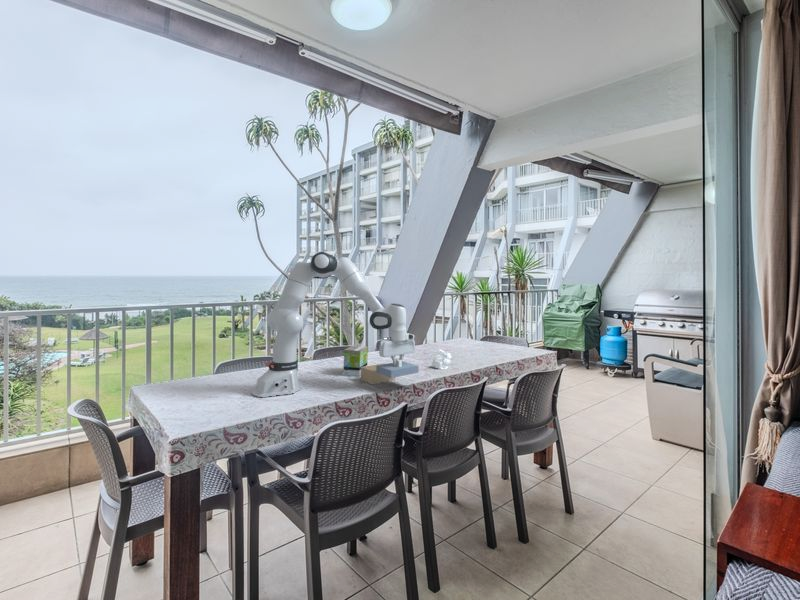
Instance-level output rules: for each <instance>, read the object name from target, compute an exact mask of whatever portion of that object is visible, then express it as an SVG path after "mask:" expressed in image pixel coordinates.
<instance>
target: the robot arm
mask: <svg viewBox="0 0 800 600" xmlns="http://www.w3.org/2000/svg"><path fill="white" fill-rule="evenodd" d="M332 275H333V276H334V277H336V279H338V280H339V282H340V284H341V285H342V286H343V288H344V289H345V290H346V291H347V292H348V293H349V294H350V295H353V296H356V297H358V298H359V299H361V300H362V301H363V302H364V304H365V306H367V307H368V309H369V310H370V312H372V313H371V315H370V317H369V324H370V326H371V328H373V329H375V330H378V331H382V330H385V329H388V337H382V338H381V340H380V341H379V348H378V350H379V353H378V354H379V356H380V357H381V358H389V357H390V358H391V360H392V363H393V364H397V360H395V359H396V357H397V356H399V357H398V359H399V360H402V361H403V359H404V358H405V355H408V354H413V353H414V352H415V351H416V342H415V335H414V334H412V333H409V332H407V327H406V324H407V311H406V307H405V306H404V305H402V304H399V303H390V304H389V305H388V306H384V305H383V304H382V303H381V302H380V301H379V299H378V298H377V296H376V295H375V294H374V293H373V291H372V289H371V288H370V286H369V285H368V283H367V281H366V279H365V278H364V276H363V274H362V273H361V271H360V270H359V269H358V267H357V265H356V264H354V262H353V261H352V260H351V259H350V258H348V257H346V256H340V257H338V258H337V257H335V256H333V255H331V254H330V253H328V252H324V251H319V252H316V253H315V254H313V256H312V257H311V260H310V261H309V262H306V261H297V262H296V263H295V264H294V265H293V267H292V269H291V270H290V272H289V275H288V276H287V279H286V282H285V284H284V287H283V290H282V291H281V295H280V297H279V298H278V300H277V301H276V303H275V305H273V306H274V307H273V308H272V309H271V311H269V312H268V313H267V316H266V322H267V325H268V326H269V328H271V330H273V331H276V336H275V340H274V342H273V344H272V361H271V362H270V361H266V362H265V366H266V367H268V370H266V371H265V373H263V374H262V375H261V376H260V377H258V379H257V381H256V384H255V388H252V389H251V391H250V392H251V395H252V394H253V396H254V395H255V396H254V397H256V396H257V397H256V398H260V397H263V398H270V397H269V396H272V397H277V396H276V395H280V396H285V395H284V394H288V395H293V394H292V393H294V394H295V393H296V392H298V391H300V390H301V387H300V382H299V377H298V370H299V369H298V368H299V362H298V359H297V358H298V357H297V356H298V355H297V352H298V351H297V348H298V347H297V346H298V339H299V335H300V332H301V331H302V329H303V327H304V319H303V317H302V315H301V314H300V313H298V312H297V311H298V309H299V308H300V306H301V305H303V303H304V302H305V300H306V296H307V294H308V291H309V288H310V285H311V284H312V280H313V279H322V280H323V279H328V278H329V277H331V276H332Z"/></svg>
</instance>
